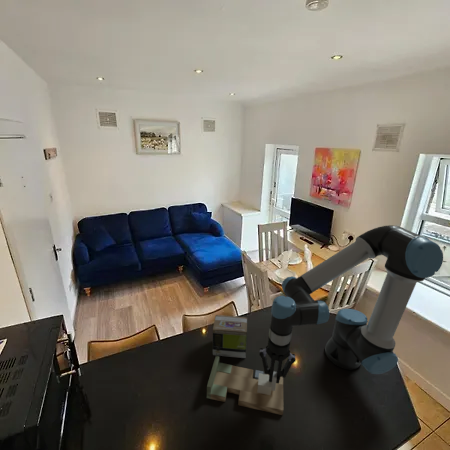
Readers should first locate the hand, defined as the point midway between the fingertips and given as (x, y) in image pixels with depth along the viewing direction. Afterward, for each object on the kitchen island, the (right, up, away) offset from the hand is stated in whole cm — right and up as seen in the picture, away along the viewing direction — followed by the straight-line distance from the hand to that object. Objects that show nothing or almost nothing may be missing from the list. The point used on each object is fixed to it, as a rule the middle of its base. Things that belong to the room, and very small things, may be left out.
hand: (273, 387), depth 96 cm
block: (-5, -1, +7) cm, 9 cm away
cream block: (-3, -1, +1) cm, 3 cm away
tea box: (-16, +4, +22) cm, 27 cm away
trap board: (-10, -3, +3) cm, 11 cm away
